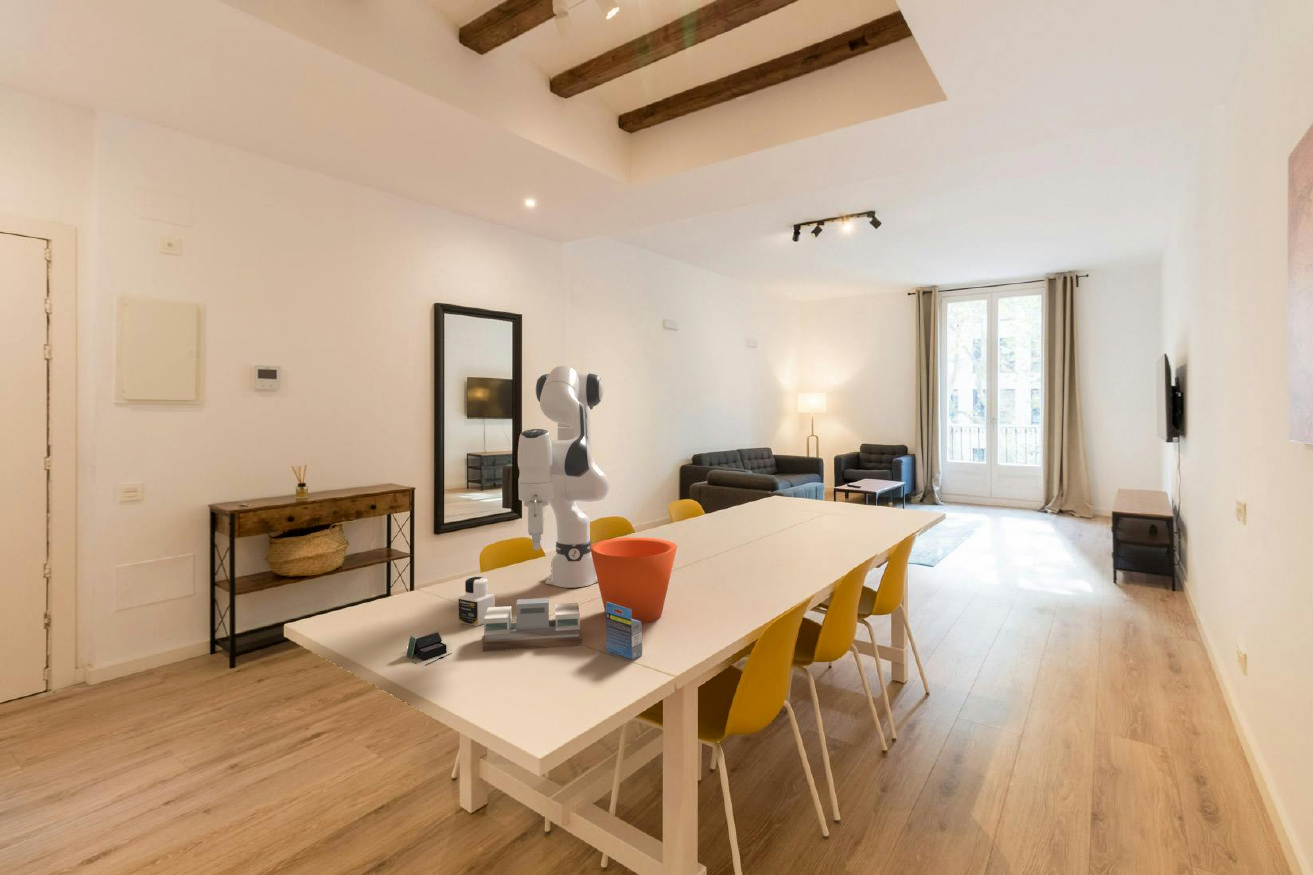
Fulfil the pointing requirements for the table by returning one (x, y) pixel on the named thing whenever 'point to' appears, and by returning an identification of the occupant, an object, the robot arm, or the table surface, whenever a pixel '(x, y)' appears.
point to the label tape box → (623, 632)
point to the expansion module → (532, 614)
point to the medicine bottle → (475, 601)
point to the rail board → (506, 636)
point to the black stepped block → (426, 647)
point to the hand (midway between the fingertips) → (537, 544)
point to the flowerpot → (634, 574)
